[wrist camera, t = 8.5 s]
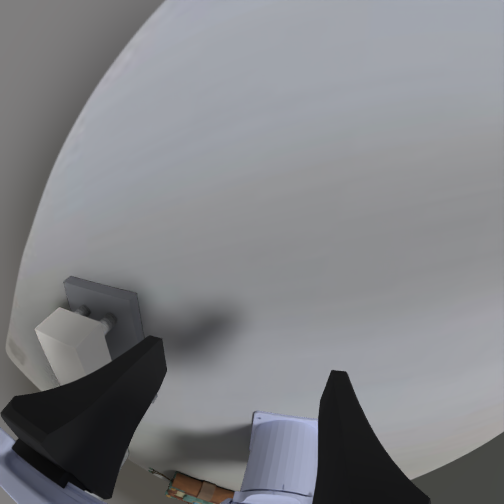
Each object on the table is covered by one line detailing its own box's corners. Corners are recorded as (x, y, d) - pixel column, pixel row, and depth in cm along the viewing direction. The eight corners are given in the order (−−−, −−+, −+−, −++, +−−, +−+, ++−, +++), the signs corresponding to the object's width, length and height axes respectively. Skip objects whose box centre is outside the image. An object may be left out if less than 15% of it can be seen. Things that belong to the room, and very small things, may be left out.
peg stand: (157, 396, 29) (144, 419, 26) (101, 375, 30) (86, 395, 27) (136, 293, 23) (113, 317, 20) (70, 276, 24) (46, 294, 21)
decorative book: (152, 456, 39) (142, 477, 34) (246, 490, 39) (240, 512, 34) (148, 473, 45) (139, 490, 40) (225, 502, 44) (220, 520, 40)
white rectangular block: (59, 306, 21) (34, 328, 18) (100, 321, 20) (75, 348, 17) (92, 393, 26) (77, 414, 23) (129, 409, 25) (114, 433, 22)
